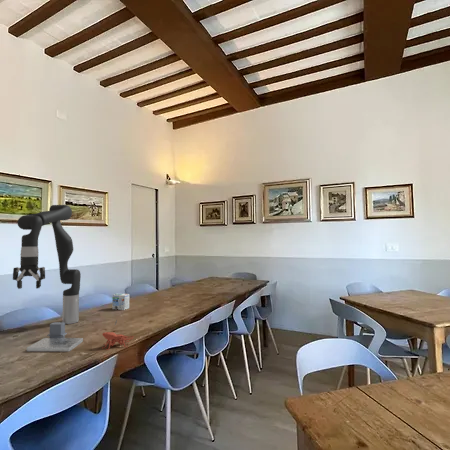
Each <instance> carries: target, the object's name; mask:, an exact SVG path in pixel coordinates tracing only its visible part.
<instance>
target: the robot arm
mask: <svg viewBox="0 0 450 450" xmlns="http://www.w3.org/2000/svg"><path fill="white" fill-rule="evenodd" d="M48 209H49V210H45V211H41V212H37V213H33V214H25V215H22V216H20V217H19V218H18V219H17V222H16V223H17V226H18V228H19V229H21V230H25V231H30V232H29V233H28V234H23V235H22V236H21V247H20V255H19V256H20V261H19V263H20V267H19V266H16V267H13V268H12V269H13V271H12V280H13V281H16V288H17V289H18V290H20V289H21V290H22V288H23V279H24V277H33V278H34V279H35V280H36V281H35V288H36V289H40V287H42V280H45V279H46V267H44V266H41V267H39V236H40V233H41V231H42V227H43V226H45V225H48V224H51V227H52V229H53V234H54V242H55V248H56V251H57V252H56V253H57V258H58V267H59V268H58V269H59V277H60V278H59V279H60V282H61V283H62V285H71V286H70V287H69V288H67V289H64V290H63V292H62V317H61V318H62V321H61V322H65V325H66V324H67V325H71V324H75V323H78V322H79V319H80V318H79V317H80V290H81V289H80V288H81V287H80V286H81V274H82V273H81V270H80V269H75V268H73V269H71V268H70V269H69V266H68V262H69V260H70V258H71V256H72V254H73V252H74V245H73V244H74V243H73V238H72V237H71V236H70V234H69V233H68V231H66V229H64V227H63V226H62V223H61V221H68V220H70V219H71V217H72V214H73V211H72V208H71V206H69V205H67V204H66V205H65V204H52V205H50V207H49V208H48ZM19 272H21V273H20V274H19Z"/></svg>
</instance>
